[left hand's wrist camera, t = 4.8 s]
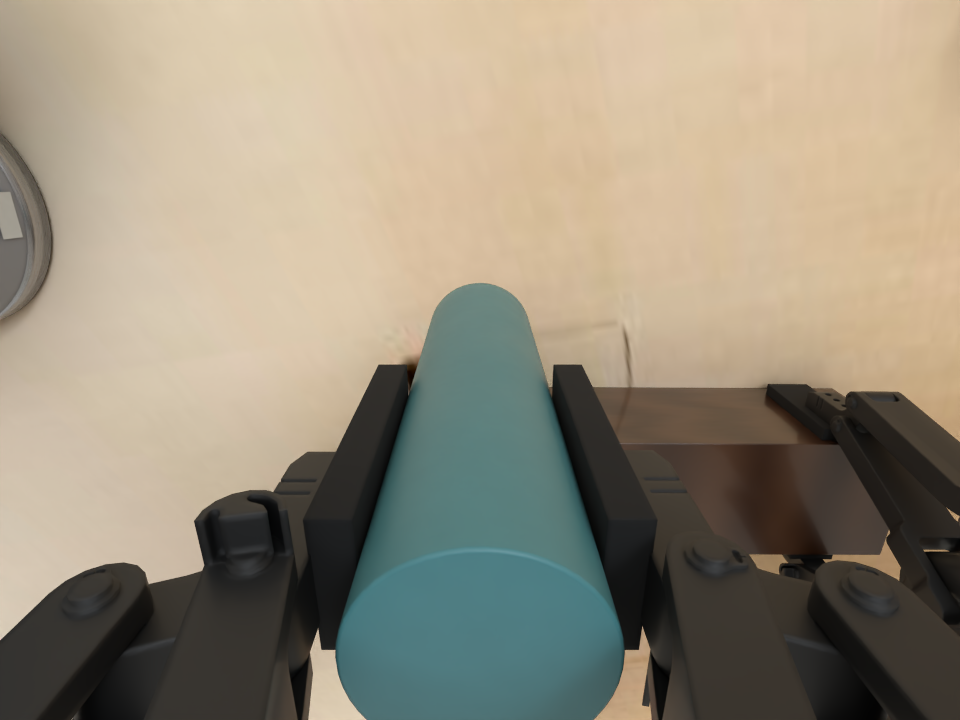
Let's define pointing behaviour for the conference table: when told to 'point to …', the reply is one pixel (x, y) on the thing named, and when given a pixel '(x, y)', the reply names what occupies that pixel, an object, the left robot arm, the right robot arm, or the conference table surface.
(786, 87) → the conference table surface
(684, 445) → the walnut block
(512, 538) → the teal peg
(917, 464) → the right robot arm
